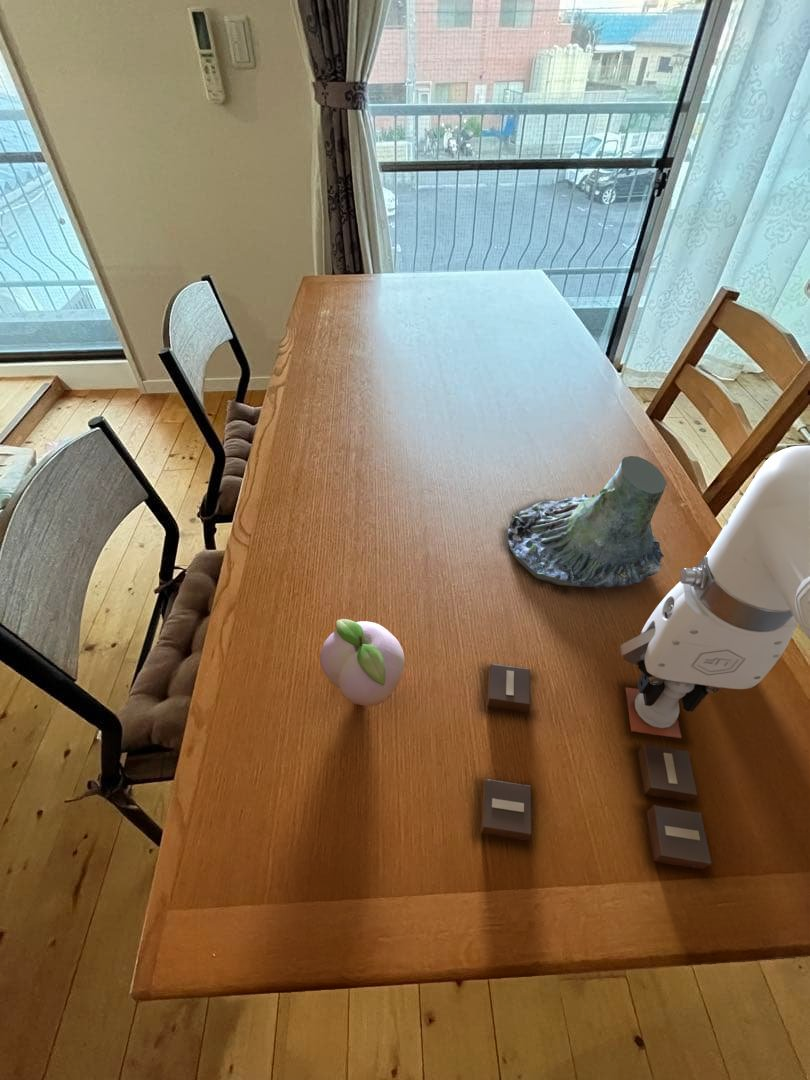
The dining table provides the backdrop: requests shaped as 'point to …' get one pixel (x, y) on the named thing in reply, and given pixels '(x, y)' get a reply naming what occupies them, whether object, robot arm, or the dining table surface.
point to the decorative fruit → (362, 661)
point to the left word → (501, 800)
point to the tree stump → (594, 532)
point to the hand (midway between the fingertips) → (665, 695)
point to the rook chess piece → (663, 704)
